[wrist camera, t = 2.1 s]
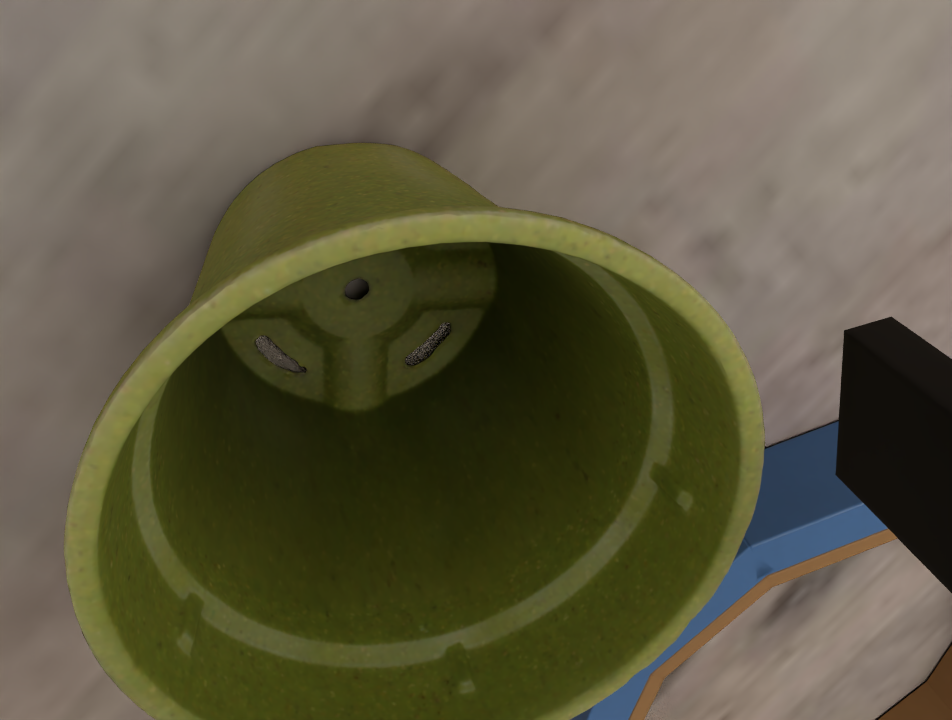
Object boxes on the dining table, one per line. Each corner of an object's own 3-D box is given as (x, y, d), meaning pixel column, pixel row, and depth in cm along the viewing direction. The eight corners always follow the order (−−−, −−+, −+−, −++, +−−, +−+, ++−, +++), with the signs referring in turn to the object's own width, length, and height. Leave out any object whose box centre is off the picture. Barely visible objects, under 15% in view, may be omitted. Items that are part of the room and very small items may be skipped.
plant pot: (339, -68, 16) (449, 28, 9) (645, 251, 21) (877, 481, 14) (20, 302, 18) (-107, 632, 11) (369, 516, 23) (444, 841, 15)
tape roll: (880, 307, 23) (960, 366, 21) (1100, 578, 33) (1175, 642, 30) (419, 721, 27) (440, 813, 25) (732, 861, 36) (771, 939, 34)
